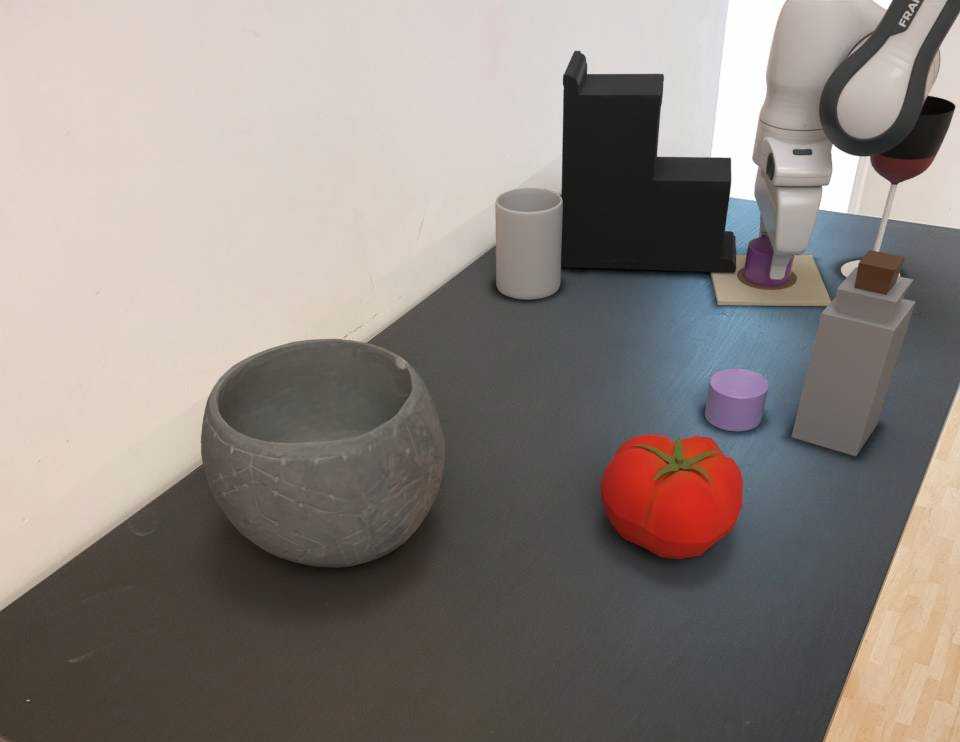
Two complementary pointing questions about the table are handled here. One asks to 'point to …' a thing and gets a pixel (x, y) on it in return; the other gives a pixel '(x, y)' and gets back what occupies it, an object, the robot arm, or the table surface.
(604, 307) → the table surface
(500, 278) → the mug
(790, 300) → the placemat
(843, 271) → the wineglass
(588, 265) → the bookend
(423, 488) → the bowl
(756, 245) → the squat plum drum
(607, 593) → the table surface
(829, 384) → the perfume bottle
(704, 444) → the tomato
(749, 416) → the lilac cylinder
